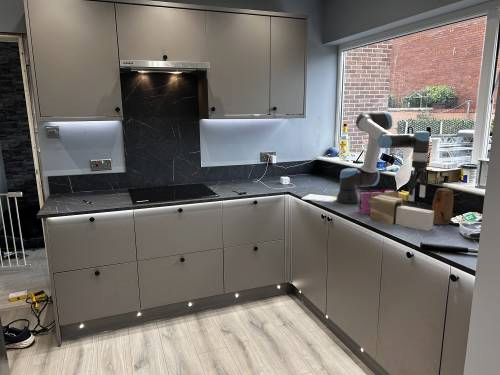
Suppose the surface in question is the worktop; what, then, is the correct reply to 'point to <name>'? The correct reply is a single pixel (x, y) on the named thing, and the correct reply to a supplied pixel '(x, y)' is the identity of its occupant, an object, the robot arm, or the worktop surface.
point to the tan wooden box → (384, 208)
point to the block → (443, 206)
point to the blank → (415, 217)
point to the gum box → (367, 195)
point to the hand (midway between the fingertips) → (416, 198)
